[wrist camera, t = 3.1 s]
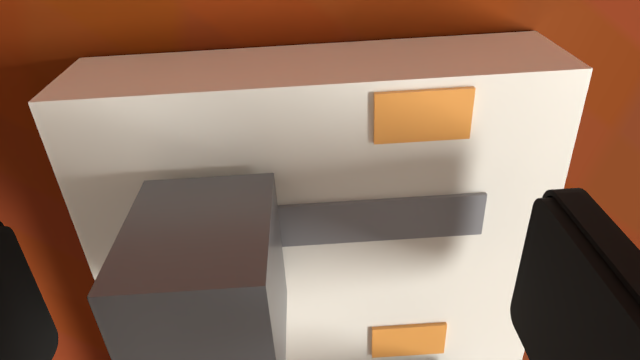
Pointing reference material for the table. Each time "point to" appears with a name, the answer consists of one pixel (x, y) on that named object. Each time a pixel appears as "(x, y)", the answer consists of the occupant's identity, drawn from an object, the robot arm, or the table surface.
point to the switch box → (343, 172)
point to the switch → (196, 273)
